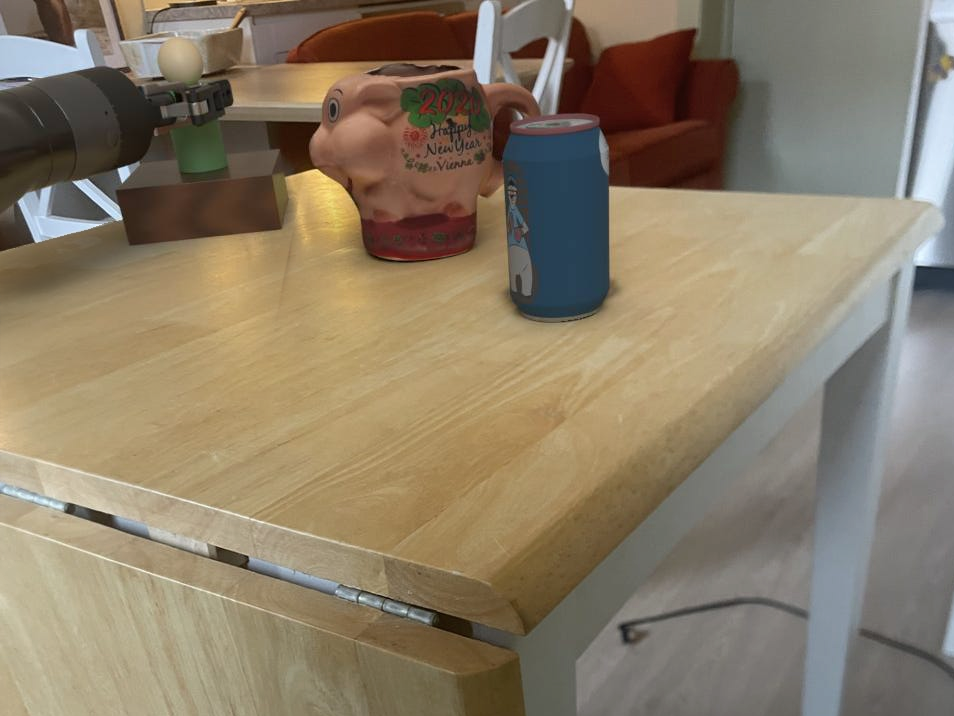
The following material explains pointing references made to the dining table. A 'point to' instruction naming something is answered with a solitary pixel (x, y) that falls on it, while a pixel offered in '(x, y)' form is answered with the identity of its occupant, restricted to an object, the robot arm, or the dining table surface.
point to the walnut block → (204, 199)
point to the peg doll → (191, 143)
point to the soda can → (557, 216)
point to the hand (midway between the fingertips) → (205, 93)
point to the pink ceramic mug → (415, 153)
